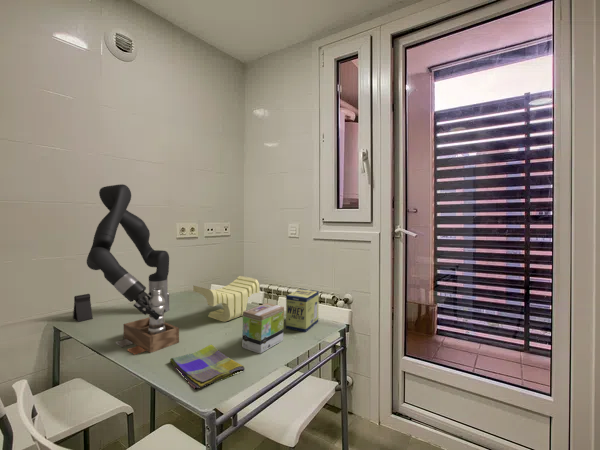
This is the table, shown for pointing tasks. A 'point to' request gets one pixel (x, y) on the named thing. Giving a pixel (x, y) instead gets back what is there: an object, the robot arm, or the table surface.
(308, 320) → the protein box
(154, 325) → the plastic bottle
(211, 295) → the slatted curved stool
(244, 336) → the tea box
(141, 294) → the robot arm
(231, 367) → the dish towel
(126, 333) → the box
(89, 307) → the black coffee bag
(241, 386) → the table surface
